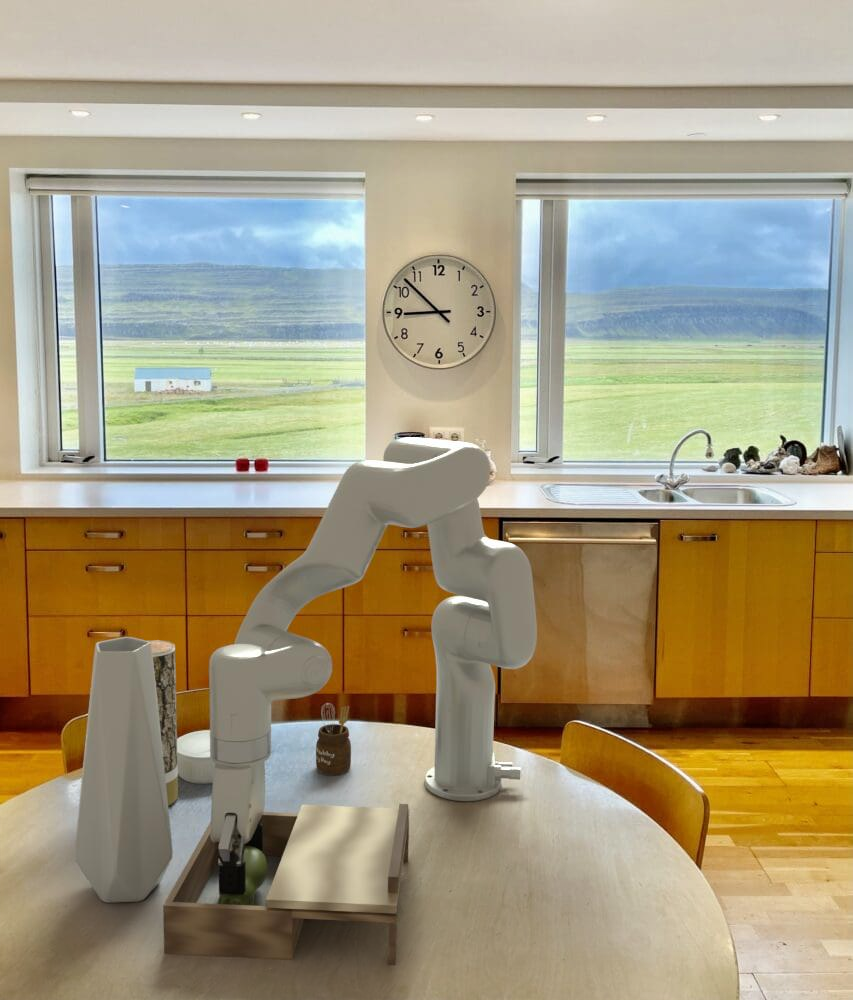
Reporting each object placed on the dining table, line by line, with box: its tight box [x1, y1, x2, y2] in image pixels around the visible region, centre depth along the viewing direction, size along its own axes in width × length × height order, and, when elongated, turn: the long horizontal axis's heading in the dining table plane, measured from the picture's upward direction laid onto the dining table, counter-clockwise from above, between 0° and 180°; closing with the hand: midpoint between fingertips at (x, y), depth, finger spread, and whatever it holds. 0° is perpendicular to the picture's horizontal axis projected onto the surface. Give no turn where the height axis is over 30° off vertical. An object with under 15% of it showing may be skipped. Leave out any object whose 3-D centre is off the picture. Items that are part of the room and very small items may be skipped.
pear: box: [217, 846, 268, 906], centre depth 117 cm, size 6×5×10 cm
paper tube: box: [147, 639, 179, 807], centre depth 142 cm, size 7×7×25 cm
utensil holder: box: [315, 702, 352, 776], centre depth 155 cm, size 6×6×12 cm
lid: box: [265, 803, 410, 914], centre depth 116 cm, size 15×23×3 cm, turn 177°
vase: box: [74, 636, 174, 904], centre depth 117 cm, size 12×12×33 cm
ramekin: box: [177, 729, 215, 785], centre depth 154 cm, size 11×11×5 cm
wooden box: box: [162, 811, 410, 965], centre depth 117 cm, size 27×23×6 cm
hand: (241, 871), depth 117 cm, fingers closed on pear, 9 cm apart
